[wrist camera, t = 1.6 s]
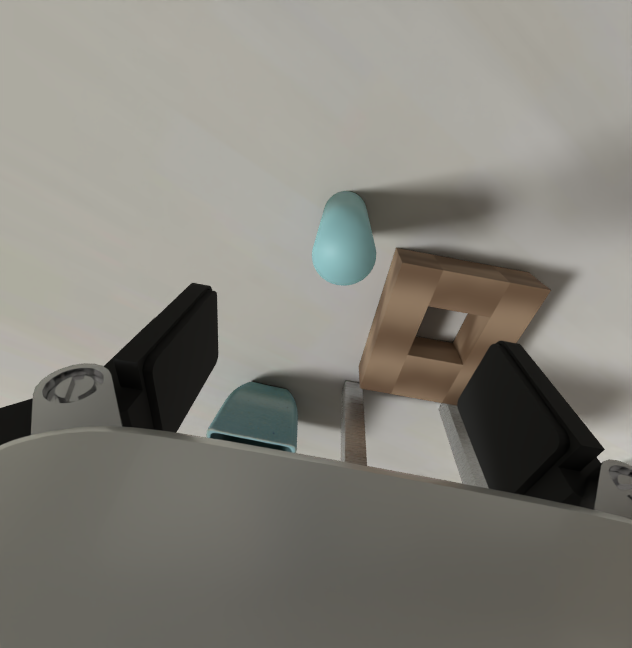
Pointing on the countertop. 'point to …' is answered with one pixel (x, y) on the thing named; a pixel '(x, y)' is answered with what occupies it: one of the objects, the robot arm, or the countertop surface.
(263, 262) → the countertop surface
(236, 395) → the flower pot
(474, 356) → the socket
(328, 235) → the peg
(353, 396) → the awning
